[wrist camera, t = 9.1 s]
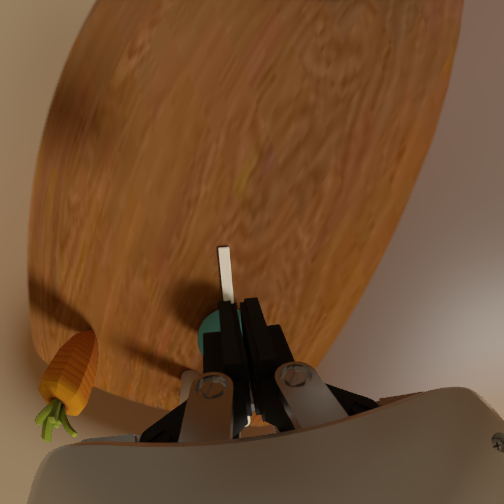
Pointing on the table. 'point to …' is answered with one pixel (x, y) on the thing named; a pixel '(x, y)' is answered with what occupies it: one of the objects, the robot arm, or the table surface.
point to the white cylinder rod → (187, 383)
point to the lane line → (226, 273)
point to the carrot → (68, 382)
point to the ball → (211, 326)
